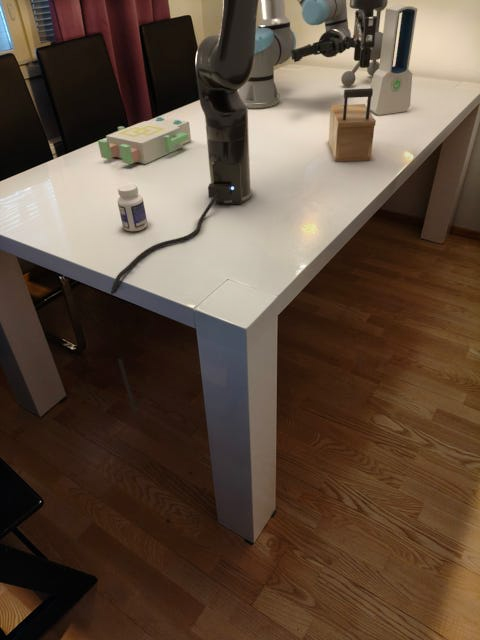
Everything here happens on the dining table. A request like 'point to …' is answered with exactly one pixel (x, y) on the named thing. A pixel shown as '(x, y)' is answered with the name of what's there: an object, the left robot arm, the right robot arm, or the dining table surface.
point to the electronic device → (397, 80)
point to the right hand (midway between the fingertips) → (316, 52)
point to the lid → (354, 110)
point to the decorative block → (146, 140)
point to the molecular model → (349, 76)
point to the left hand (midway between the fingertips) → (361, 63)
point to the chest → (350, 141)
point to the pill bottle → (131, 208)
